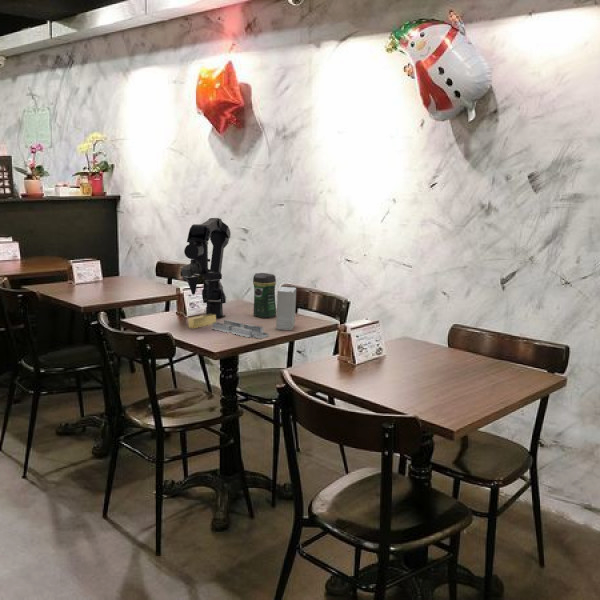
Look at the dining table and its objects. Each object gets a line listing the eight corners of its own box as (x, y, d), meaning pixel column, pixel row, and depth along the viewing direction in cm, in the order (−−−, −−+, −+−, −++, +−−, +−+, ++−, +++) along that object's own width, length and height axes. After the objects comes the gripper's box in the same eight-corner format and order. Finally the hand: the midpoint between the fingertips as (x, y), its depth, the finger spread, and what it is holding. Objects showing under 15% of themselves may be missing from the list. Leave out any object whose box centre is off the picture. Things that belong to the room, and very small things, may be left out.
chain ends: (227, 325, 262) (227, 319, 262) (271, 335, 247) (271, 328, 247) (212, 329, 256) (212, 322, 256) (256, 339, 241) (256, 332, 241)
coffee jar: (279, 316, 280) (279, 273, 276) (265, 319, 274) (265, 275, 271) (264, 313, 286) (263, 270, 283) (250, 315, 281) (249, 272, 277)
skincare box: (279, 325, 264) (279, 286, 261) (296, 325, 263) (297, 286, 260) (275, 329, 256) (275, 290, 253) (293, 330, 255) (293, 290, 252)
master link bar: (188, 328, 259) (188, 318, 259) (211, 322, 269) (210, 313, 268) (193, 329, 258) (193, 319, 257) (216, 324, 267) (215, 314, 266)
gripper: (169, 256, 258) (170, 295, 260) (200, 259, 246) (201, 300, 249) (191, 254, 266) (191, 292, 269) (222, 257, 254) (223, 297, 257)
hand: (201, 295), depth 261 cm, fingers open, 9 cm apart
